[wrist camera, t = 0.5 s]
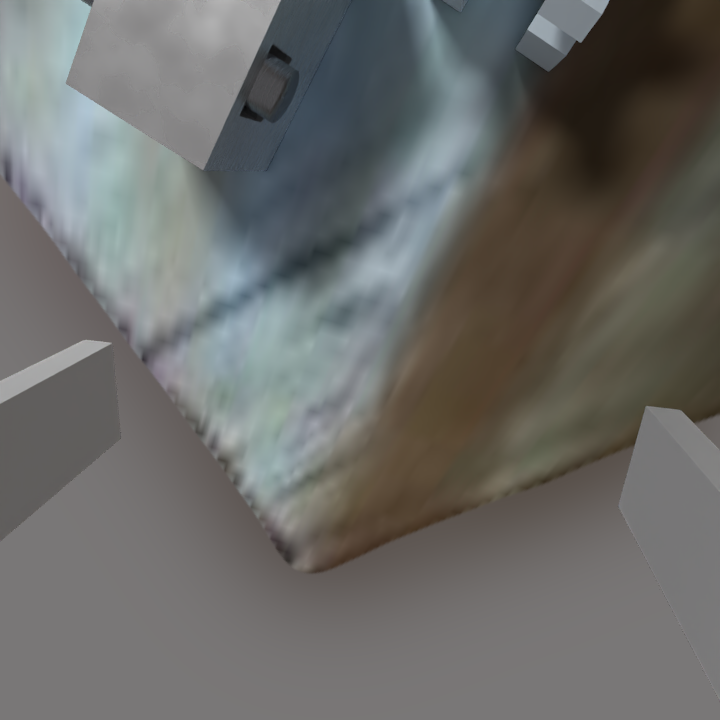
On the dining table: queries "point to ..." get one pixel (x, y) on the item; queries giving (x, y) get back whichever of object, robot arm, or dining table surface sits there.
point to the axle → (269, 87)
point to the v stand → (554, 28)
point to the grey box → (201, 70)
